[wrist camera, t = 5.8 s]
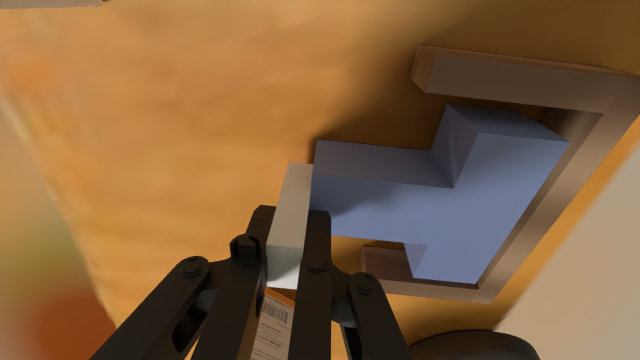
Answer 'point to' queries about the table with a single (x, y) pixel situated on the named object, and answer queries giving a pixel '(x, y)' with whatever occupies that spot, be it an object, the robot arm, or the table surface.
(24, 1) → the milk carton
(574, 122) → the walnut dock
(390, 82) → the table surface
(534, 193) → the slate blue t block
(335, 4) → the table surface
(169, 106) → the table surface
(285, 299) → the supplement box
